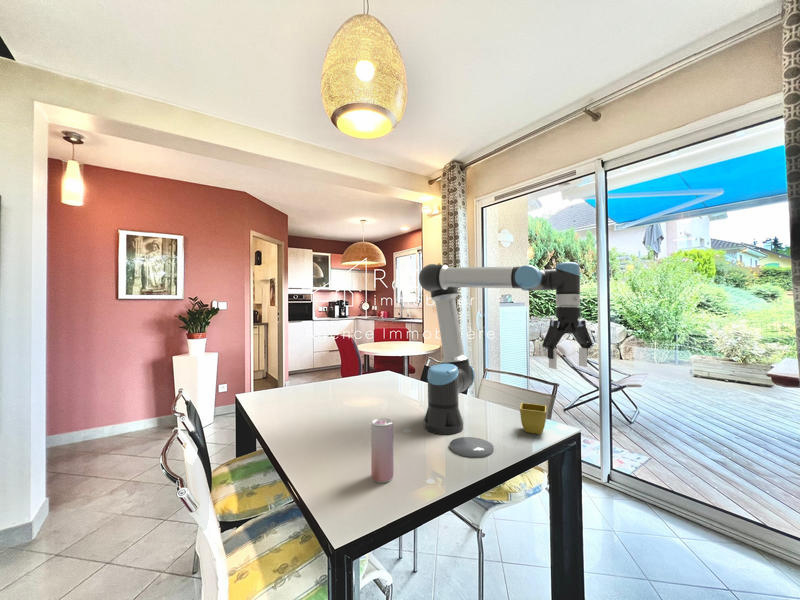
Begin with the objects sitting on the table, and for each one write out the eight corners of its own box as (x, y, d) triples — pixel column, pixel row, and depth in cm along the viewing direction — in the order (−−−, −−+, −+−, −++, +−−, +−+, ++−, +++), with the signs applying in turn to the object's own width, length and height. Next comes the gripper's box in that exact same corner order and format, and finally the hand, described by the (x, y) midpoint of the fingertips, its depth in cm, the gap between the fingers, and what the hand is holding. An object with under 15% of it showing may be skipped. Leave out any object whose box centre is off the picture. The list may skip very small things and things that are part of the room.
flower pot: (546, 429, 121) (546, 405, 121) (546, 437, 113) (546, 411, 114) (522, 425, 125) (521, 402, 125) (520, 433, 117) (519, 408, 117)
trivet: (442, 450, 103) (442, 448, 103) (460, 436, 115) (460, 434, 115) (485, 461, 96) (485, 459, 96) (499, 445, 107) (499, 442, 107)
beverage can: (371, 473, 89) (371, 418, 90) (392, 471, 90) (392, 417, 90) (371, 484, 84) (371, 426, 84) (394, 483, 84) (393, 425, 85)
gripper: (547, 306, 106) (547, 371, 105) (604, 306, 114) (604, 367, 113) (531, 306, 113) (531, 367, 112) (585, 306, 121) (585, 363, 120)
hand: (568, 367), depth 113 cm, fingers open, 13 cm apart
